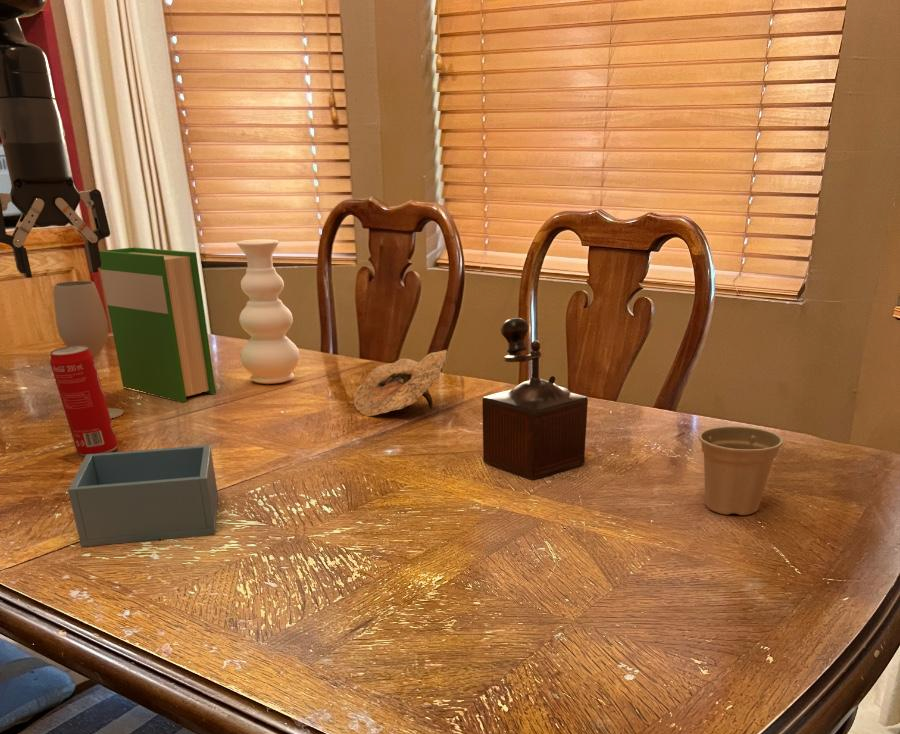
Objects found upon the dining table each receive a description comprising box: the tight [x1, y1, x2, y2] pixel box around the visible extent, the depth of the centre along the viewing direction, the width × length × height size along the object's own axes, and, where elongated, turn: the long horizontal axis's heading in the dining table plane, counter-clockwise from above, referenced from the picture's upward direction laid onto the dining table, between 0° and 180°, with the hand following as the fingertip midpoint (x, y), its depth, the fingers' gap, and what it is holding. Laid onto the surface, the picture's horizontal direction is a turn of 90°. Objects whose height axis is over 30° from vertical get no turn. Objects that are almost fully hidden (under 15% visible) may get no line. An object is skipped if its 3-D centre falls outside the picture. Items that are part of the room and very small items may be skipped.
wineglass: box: [53, 280, 125, 420], centre depth 140 cm, size 8×8×21 cm
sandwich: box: [352, 349, 448, 417], centre depth 145 cm, size 18×14×8 cm
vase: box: [236, 238, 300, 385], centre depth 159 cm, size 11×11×25 cm
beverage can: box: [49, 345, 118, 457], centre depth 123 cm, size 6×6×15 cm
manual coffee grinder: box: [481, 317, 589, 481], centre depth 117 cm, size 16×11×18 cm
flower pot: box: [698, 425, 784, 516], centre depth 101 cm, size 9×9×9 cm
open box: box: [67, 444, 219, 548], centre depth 101 cm, size 15×13×7 cm
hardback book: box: [99, 246, 217, 403], centre depth 153 cm, size 18×7×24 cm, turn 53°
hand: (61, 274), depth 117 cm, fingers open, 8 cm apart
